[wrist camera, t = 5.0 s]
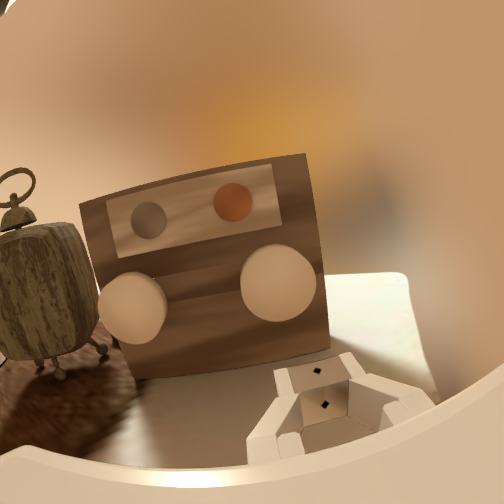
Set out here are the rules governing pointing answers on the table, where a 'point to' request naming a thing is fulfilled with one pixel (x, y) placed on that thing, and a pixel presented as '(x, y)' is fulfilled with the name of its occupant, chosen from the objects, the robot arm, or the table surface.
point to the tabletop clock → (44, 287)
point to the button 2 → (277, 283)
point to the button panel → (211, 262)
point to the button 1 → (133, 307)
